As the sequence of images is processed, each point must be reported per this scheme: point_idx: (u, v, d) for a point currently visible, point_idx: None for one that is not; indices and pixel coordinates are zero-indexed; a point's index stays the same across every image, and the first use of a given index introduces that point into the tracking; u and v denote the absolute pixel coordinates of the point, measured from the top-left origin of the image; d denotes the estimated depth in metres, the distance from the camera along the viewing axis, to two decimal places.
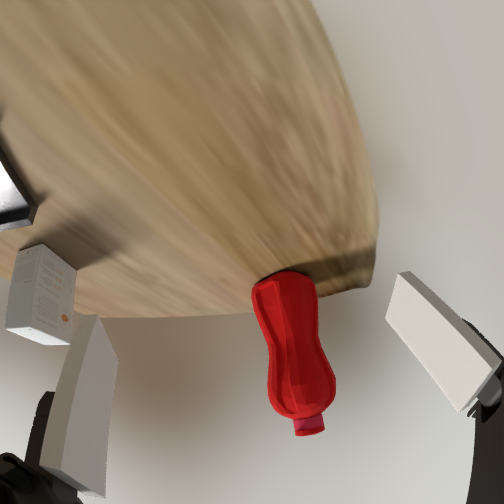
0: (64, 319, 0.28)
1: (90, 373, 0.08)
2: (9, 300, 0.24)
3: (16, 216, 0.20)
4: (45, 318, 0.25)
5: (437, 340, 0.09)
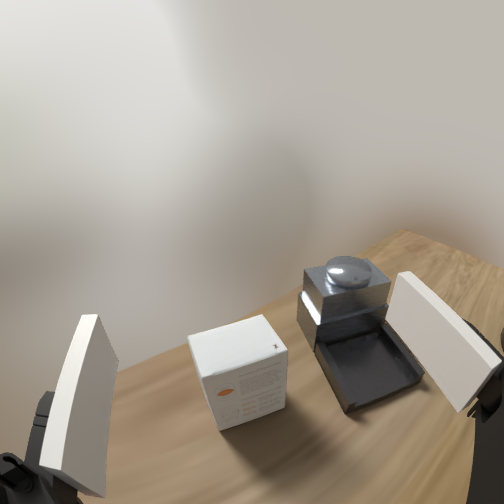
0: (227, 390, 0.23)
1: (90, 373, 0.08)
2: None
3: None
4: (263, 372, 0.23)
5: (437, 340, 0.09)
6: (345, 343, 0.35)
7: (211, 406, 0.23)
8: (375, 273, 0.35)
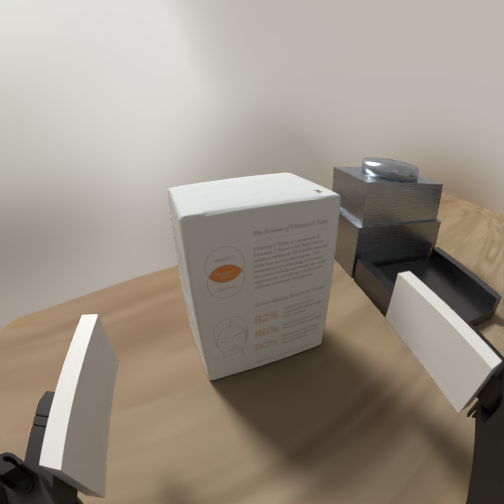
0: (229, 269, 0.13)
1: (90, 373, 0.08)
2: None
3: None
4: (298, 235, 0.13)
5: (437, 340, 0.09)
6: (393, 266, 0.25)
7: (196, 310, 0.13)
8: (421, 178, 0.25)
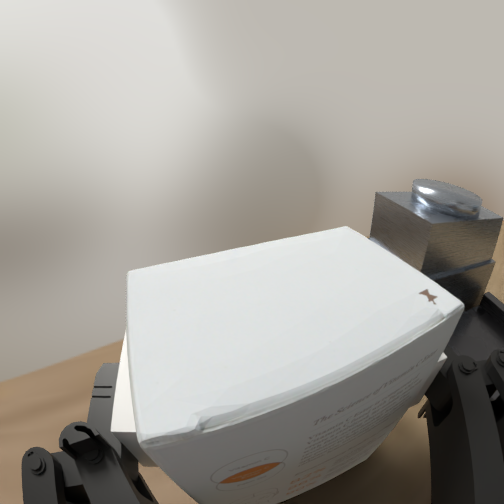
0: (257, 469, 0.05)
1: None
2: None
3: None
4: (389, 391, 0.06)
5: None
6: None
7: (199, 501, 0.05)
8: None
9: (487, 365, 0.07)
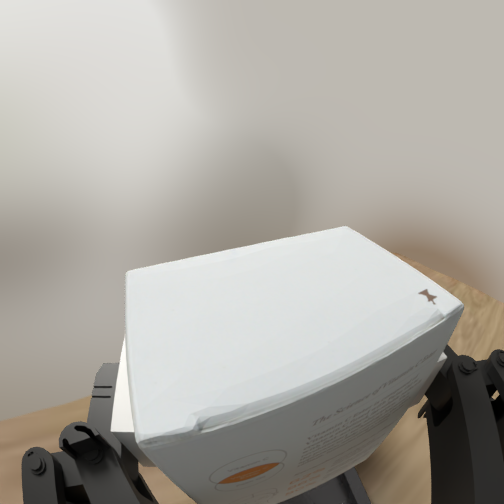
0: (256, 469, 0.05)
1: None
2: None
3: None
4: (389, 391, 0.06)
5: None
6: None
7: (198, 501, 0.05)
8: None
9: (487, 365, 0.07)
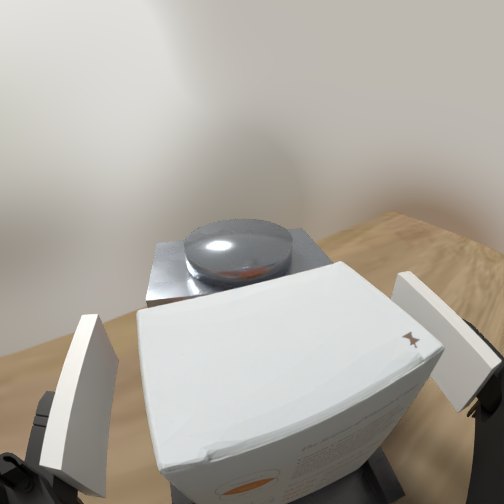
0: (254, 484, 0.06)
1: (90, 373, 0.08)
2: None
3: None
4: (370, 421, 0.06)
5: None
6: None
7: None
8: (309, 256, 0.16)
9: None
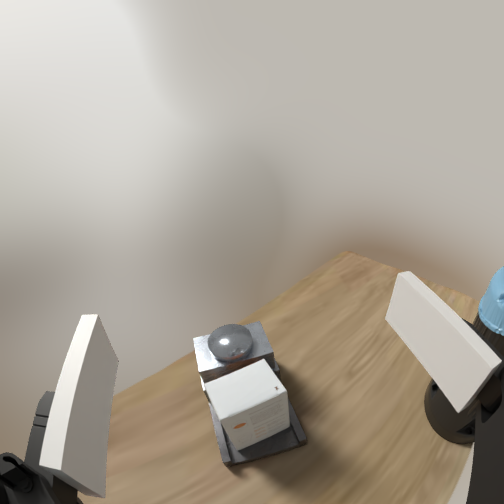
0: (240, 424, 0.27)
1: (90, 373, 0.08)
2: None
3: (228, 450, 0.30)
4: (268, 408, 0.28)
5: (437, 340, 0.09)
6: None
7: (229, 436, 0.27)
8: (260, 342, 0.37)
9: None
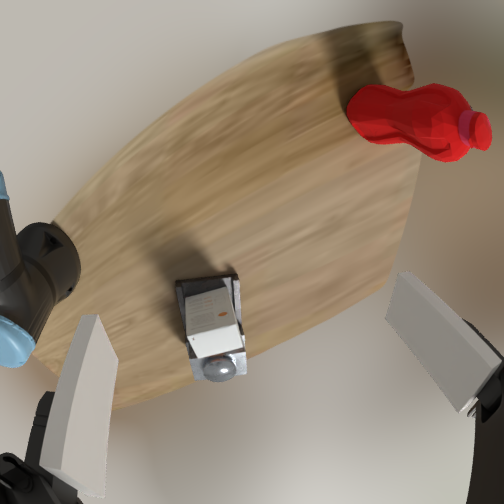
0: (221, 315, 0.44)
1: (90, 373, 0.08)
2: None
3: (233, 287, 0.50)
4: (200, 324, 0.42)
5: (437, 340, 0.09)
6: None
7: (230, 305, 0.45)
8: (197, 366, 0.48)
9: None
